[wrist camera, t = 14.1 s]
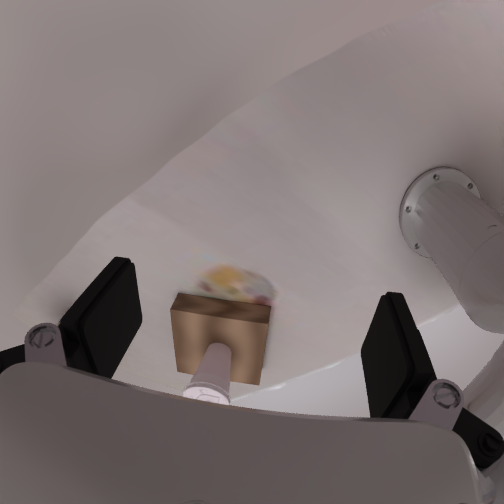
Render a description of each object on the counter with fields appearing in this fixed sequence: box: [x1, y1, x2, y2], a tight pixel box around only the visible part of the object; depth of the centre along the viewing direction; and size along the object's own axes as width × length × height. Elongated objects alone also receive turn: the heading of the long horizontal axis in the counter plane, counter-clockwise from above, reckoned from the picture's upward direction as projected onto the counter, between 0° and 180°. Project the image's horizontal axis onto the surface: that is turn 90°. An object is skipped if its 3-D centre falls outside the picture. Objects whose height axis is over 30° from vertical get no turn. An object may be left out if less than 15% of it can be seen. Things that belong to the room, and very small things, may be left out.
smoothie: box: [183, 343, 232, 405], centre depth 41 cm, size 6×6×14 cm
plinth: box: [170, 293, 271, 385], centre depth 49 cm, size 14×14×4 cm
